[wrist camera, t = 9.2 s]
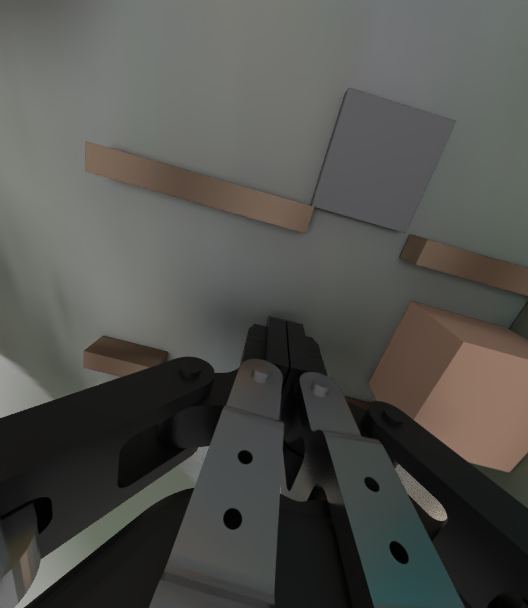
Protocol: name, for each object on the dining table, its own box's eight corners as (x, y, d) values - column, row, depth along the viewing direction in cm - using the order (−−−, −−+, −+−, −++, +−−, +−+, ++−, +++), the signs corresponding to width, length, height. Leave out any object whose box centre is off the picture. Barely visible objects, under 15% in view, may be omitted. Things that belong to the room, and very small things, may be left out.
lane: (588, 285, 12) (784, 341, 7) (468, 442, 16) (547, 545, 11) (110, 148, 11) (-14, 112, 6) (102, 351, 15) (19, 423, 10)
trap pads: (471, 148, 10) (482, 145, 10) (211, 448, 17) (209, 457, 16) (369, 54, 9) (375, 44, 9) (137, 409, 16) (132, 417, 15)
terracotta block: (505, 327, 13) (595, 378, 9) (451, 404, 15) (509, 472, 11) (410, 300, 13) (463, 341, 9) (367, 381, 15) (397, 444, 11)
